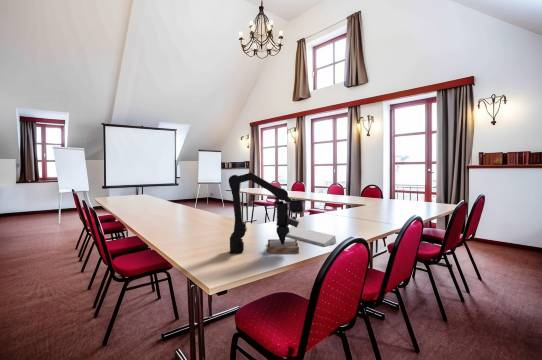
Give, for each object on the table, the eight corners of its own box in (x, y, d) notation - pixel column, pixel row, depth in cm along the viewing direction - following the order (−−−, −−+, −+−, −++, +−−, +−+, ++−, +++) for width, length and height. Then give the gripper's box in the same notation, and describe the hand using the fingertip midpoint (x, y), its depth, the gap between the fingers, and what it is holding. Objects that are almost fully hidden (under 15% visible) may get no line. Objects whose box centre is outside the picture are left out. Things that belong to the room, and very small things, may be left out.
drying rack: (267, 253, 137) (267, 247, 137) (268, 244, 153) (268, 239, 153) (298, 252, 137) (298, 247, 137) (296, 244, 153) (296, 239, 152)
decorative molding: (325, 251, 148) (336, 243, 154) (324, 243, 147) (335, 235, 153) (283, 239, 174) (294, 232, 180) (281, 232, 173) (292, 226, 179)
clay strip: (270, 250, 139) (270, 242, 139) (269, 248, 142) (269, 240, 142) (295, 248, 140) (295, 241, 140) (294, 246, 144) (294, 239, 144)
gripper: (299, 216, 131) (299, 248, 132) (296, 209, 150) (296, 238, 150) (276, 216, 131) (276, 248, 132) (276, 210, 150) (276, 238, 151)
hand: (282, 242), depth 141 cm, fingers open, 6 cm apart
